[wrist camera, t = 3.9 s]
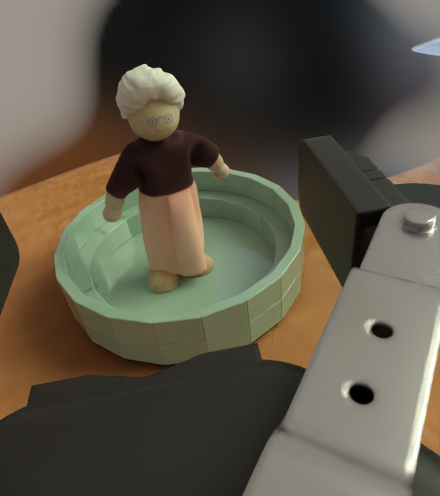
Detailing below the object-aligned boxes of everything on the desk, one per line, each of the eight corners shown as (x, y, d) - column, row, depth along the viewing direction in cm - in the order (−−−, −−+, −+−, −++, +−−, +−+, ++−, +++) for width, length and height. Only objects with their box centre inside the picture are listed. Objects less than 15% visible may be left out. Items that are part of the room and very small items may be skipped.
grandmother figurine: (153, 315, 24) (86, 98, 16) (121, 283, 27) (50, 81, 19) (250, 253, 28) (234, 49, 20) (214, 230, 30) (187, 40, 22)
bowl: (47, 382, 22) (19, 338, 20) (96, 220, 33) (82, 181, 31) (329, 350, 22) (334, 301, 19) (280, 198, 33) (280, 156, 31)
